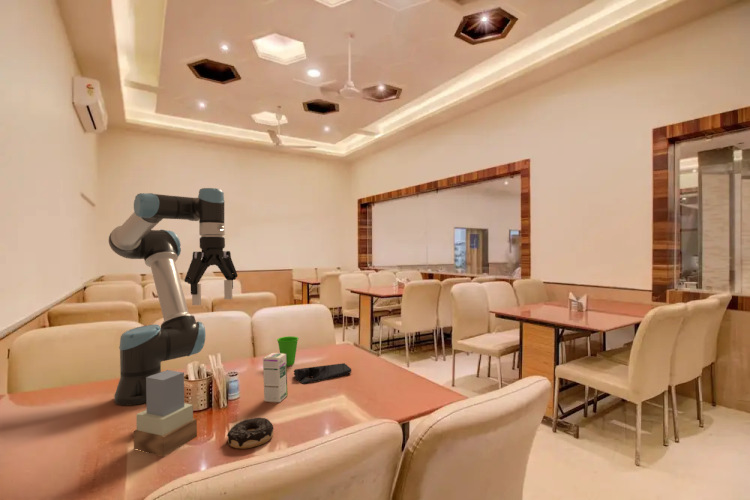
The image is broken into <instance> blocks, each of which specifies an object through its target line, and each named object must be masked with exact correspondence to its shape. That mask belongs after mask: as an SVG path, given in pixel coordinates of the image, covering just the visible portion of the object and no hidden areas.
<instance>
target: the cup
mask: <svg viewBox="0 0 750 500" xmlns="http://www.w3.org/2000/svg"><path fill="white" fill-rule="evenodd" d="M299 338H300V337H298V336H283V337H279V338H277V340H276V341H277V343H278V348H279V353H285V354H286V362H287V367H290V365H291V366H293V364H294V365H295V362H296V361H295V360H296V354H297V347H298V346H297V345H298V340H299Z"/></svg>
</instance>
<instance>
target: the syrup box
mask: <svg viewBox="0 0 750 500" xmlns="http://www.w3.org/2000/svg"><path fill="white" fill-rule="evenodd" d="M262 369H263V373H262V374H263V401H264V402H266V403H267V402H269V403H281V402H282V401H283V400H284V399H285V398H286V397H288V366H287V362H286V354H285V353H280V352H271V353H270V354H268V355H266V356H265V357H263V358H262Z"/></svg>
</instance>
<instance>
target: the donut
mask: <svg viewBox="0 0 750 500" xmlns="http://www.w3.org/2000/svg"><path fill="white" fill-rule="evenodd" d="M226 436H227V442H228V445H229V446H230V447H232V448H234V449H239V450H240V449H241V450H242V449H243V450H245V449H251V448H255V447H257V446H261V445H263V444H265V443H267V442H268V441H270V440H271V439H272V438H273V436H274V425H273V423H272V421H270V419H268V418H265V417H258V416H257V417H252V418H245V419H243V420H241V421H240V422H237V423H236V424H234V425H233V426H232V427H231V428H229V430H228V432H227V434H226Z"/></svg>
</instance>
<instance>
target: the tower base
mask: <svg viewBox="0 0 750 500" xmlns="http://www.w3.org/2000/svg"><path fill="white" fill-rule="evenodd" d="M197 427H198V426H197V418H194V417H193V420H192V421H190V422H188V423H186V424H184V425H183V426H181V427H179V428H177V429H175V430H173V431H171V432H169V433H168V434H166V435H164V436H160V435H156V434H152V433H147V432H143V431H139V430H137V429H135V430H133V449H138V450H141V451H140V452H142V451H144V452H143V453H146V452H147V454H152V455H155V456H160V457H166V456H168V455H170V454H171V453H173V452H174V451H176V450H177V449H179V448H180V447H182V446H184V445H186V444H187V443H188V442H190V441H192V440H194V439H195V438H196V437H197V436H198V429H197ZM138 450H137V451H138Z"/></svg>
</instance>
